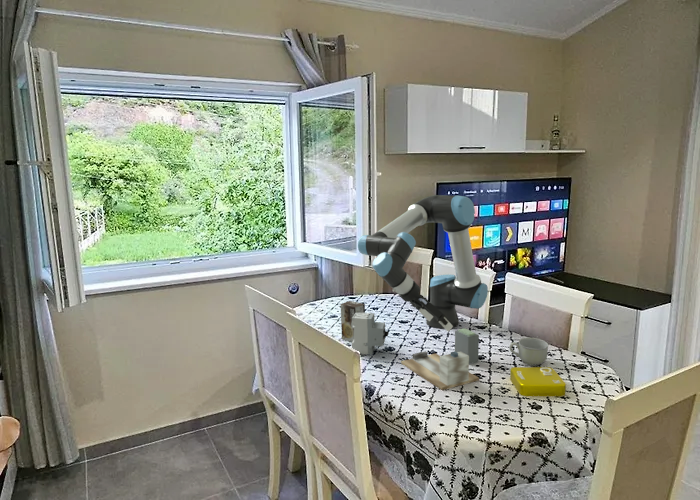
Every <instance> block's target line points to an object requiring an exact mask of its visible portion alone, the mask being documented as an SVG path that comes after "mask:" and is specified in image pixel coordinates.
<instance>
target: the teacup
mask: <svg viewBox="0 0 700 500" xmlns="http://www.w3.org/2000/svg"><path fill="white" fill-rule="evenodd" d="M514 346H515V347H516V349H517V350H518V351H517V352H516V351H515V350H514V349H513V347H514ZM508 348H509V351H510V352H511V353H512V354H513V355H515V356H516V357H517V358H519V360H521V361H522V362H523V363H524V364H526V365H528V366H540V365H541V364H543V363H545V362H546V361H547V358H548V349H549V343H548V342H547V341H546V340H543V339H542V338H538V337H522V338H520V339H519V340H518V342H511V343H510V344H509V347H508Z"/></svg>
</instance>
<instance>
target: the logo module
mask: <svg viewBox="0 0 700 500" xmlns="http://www.w3.org/2000/svg"><path fill="white" fill-rule="evenodd" d="M479 338H480V334H478V333H476V332H474V331H472V330H469V329H467V328H460V329H456V330H455V331H454V351H455V352H463V353H465V354H467V355H469V365H471V364H475V363H479V351H480V350H479V343H480V341H479V340H480V339H479Z"/></svg>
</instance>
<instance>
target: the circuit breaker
mask: <svg viewBox="0 0 700 500" xmlns="http://www.w3.org/2000/svg"><path fill="white" fill-rule="evenodd" d="M351 326H352V328H354V340H353V342H351V349H352V348H353V349H355V350H357V351H359V352H360V353H362V354H361V355H367V354H371V355H373V353H374V352H375V349H376V347H383V346H384V344H385V341H386V337H388V336H389V334H390V333H389V331H388V330H386V322H384V321H382V322H380V321H379V322H377V321H375V313H373V312H372V313H371V312H365V313H355V314H354V316H353V317H352V323H351Z"/></svg>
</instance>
